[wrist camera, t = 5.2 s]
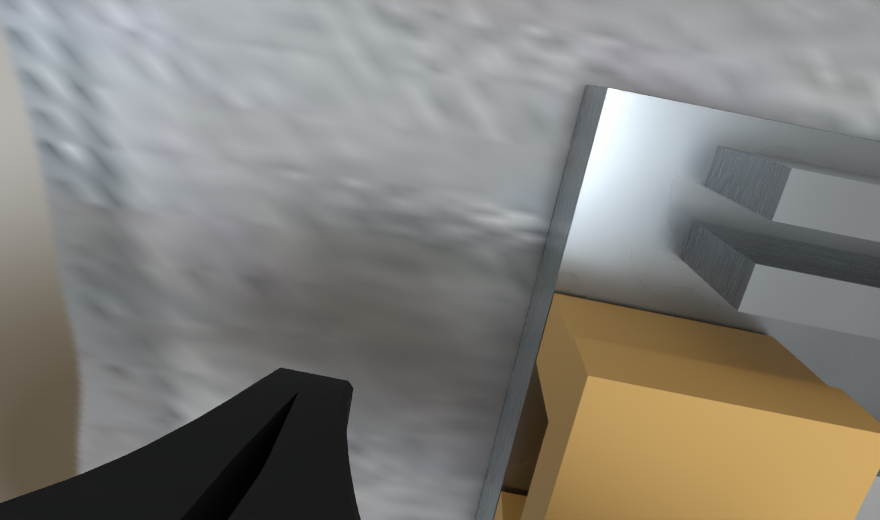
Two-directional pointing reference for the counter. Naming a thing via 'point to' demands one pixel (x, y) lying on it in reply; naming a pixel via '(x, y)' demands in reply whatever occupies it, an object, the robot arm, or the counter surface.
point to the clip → (687, 425)
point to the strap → (871, 502)
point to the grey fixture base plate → (706, 246)
